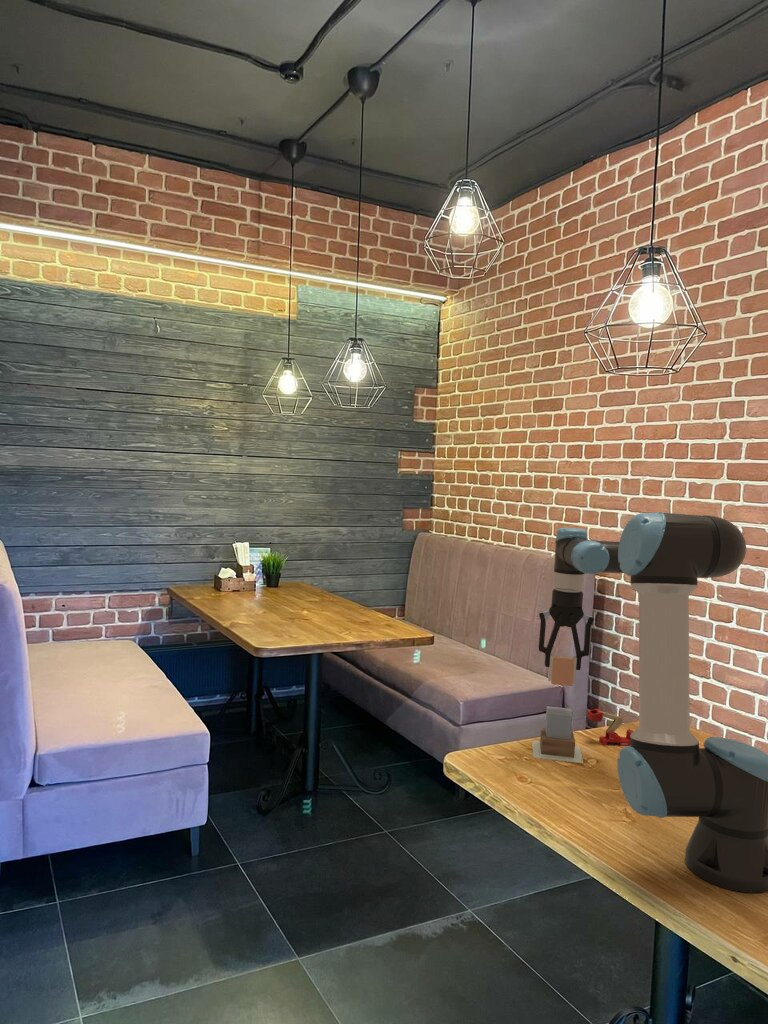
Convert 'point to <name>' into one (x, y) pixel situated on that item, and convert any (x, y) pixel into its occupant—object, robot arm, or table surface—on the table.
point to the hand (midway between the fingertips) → (561, 680)
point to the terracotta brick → (562, 671)
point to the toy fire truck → (610, 729)
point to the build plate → (538, 754)
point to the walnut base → (557, 745)
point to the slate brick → (558, 723)
